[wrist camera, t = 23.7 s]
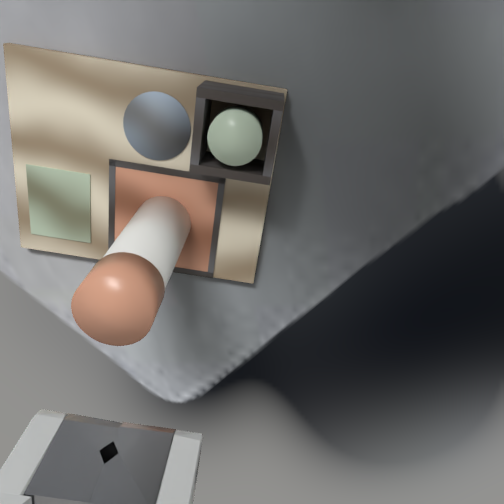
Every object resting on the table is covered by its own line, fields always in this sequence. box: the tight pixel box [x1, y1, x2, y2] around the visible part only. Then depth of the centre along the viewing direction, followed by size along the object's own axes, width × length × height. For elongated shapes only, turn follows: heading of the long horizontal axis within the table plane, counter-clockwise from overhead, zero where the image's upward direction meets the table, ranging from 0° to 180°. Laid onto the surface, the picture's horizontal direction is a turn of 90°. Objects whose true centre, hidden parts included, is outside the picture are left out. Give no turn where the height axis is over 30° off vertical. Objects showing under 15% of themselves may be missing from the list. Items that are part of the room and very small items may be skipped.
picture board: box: [3, 43, 287, 284], centre depth 35 cm, size 16×20×5 cm
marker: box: [71, 196, 191, 346], centre depth 32 cm, size 5×5×13 cm
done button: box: [207, 106, 263, 166], centre depth 31 cm, size 4×4×2 cm
